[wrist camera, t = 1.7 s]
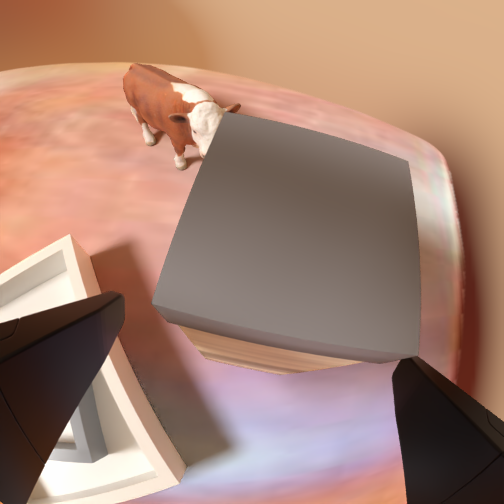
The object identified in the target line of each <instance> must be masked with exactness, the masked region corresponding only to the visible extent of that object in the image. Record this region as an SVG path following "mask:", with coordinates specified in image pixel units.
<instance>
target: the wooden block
mask: <svg viewBox="0 0 504 504" xmlns="http://www.w3.org/2000/svg"><path fill="white" fill-rule="evenodd" d="M151 304H152V305H153V306H154V307H155V308H156V310H157V311H158V312H159V313H160V314H161V315H162V316H163V317H164V319H165V320H166V321H167V322H169V323H173V324H177V325H178V326H179V327H180V328H181V330H182V331H183V332H184V333H185V335H186V336H187V337H188V338H189V340H190V341H191V342H192V343H193V344H194V346H195V347H196V348H197V349H198V351H199V352H200V353H201V354H202V355H203V356H204V358H205V359H208V360H212V361H216V362H221V363H225V364H229V365H234V366H238V367H243V368H248V369H253V370H258V371H263V372H268V373H273V374H279V375H283V374H292V373H300V372H307V371H314V370H321V369H327V368H333V367H339V366H345V365H350V364H356V363H361V362H370V363H379V364H381V363H386V362H391V361H396V360H401V359H405V358H410V357H414V356H418V354H419V340H420V315H421V281H420V256H419V241H418V229H417V219H416V210H415V202H414V194H413V187H412V181H411V175H410V169H409V163H408V161H406V160H403V159H401V158H398V157H395V156H393V155H390V154H387V153H384V152H381V151H379V150H376V149H373V148H370V147H367V146H364V145H361V144H358V143H354V142H351V141H348V140H345V139H341V138H338V137H335V136H331V135H328V134H324V133H320V132H317V131H313V130H309V129H305V128H301V127H297V126H293V125H289V124H285V123H280V122H276V121H271V120H267V119H262V118H257V117H252V116H247V115H241V114H235V113H230V112H224V115H223V117H222V119H221V121H220V123H219V126H218V128H217V130H216V132H215V134H214V137H213V139H212V141H211V144H210V146H209V148H208V150H207V153H206V155H205V157H204V160H203V162H202V165H201V167H200V169H199V172H198V174H197V177H196V179H195V182H194V184H193V187H192V189H191V192H190V194H189V197H188V199H187V202H186V204H185V207H184V210H183V212H182V215H181V218H180V220H179V223H178V226H177V228H176V231H175V234H174V237H173V239H172V242H171V245H170V248H169V251H168V254H167V256H166V259H165V262H164V265H163V268H162V271H161V274H160V277H159V280H158V283H157V287H156V290H155V293H154V296H153V299H152V302H151Z"/></svg>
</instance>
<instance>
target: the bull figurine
mask: <svg viewBox="0 0 504 504" xmlns="http://www.w3.org/2000/svg"><path fill="white" fill-rule="evenodd" d="M123 89H124V92H125V95H126V99H127V101H128V103H129V104H130V106H131V111H132V114H133V115H134V116H135V118H136V119H137V121H138V123H140V124H141V126H142V128H143V137H144V138H145V142H146V145H148V146H152V145H154V144H155V143H156V139H155V137H154V135H153V134H152V132H151V131H150V129H149V127H148V124H149V125H150V126H151V127H153V128H155V129H158V130H161V131H164V132H166V133H167V135H168V136H169V137H170V139H171V142H172V145H173V146H174V148H175V151H176V156H175V158H174V161H175V163H176V168H177V169H178V170H185V169H186V168H187V163H186V159H185V158H184V152H185V145H186V144H188V145H192V146H193V147H196V148H199V152H200V155H201V157H202V158H204V157H205V155H206V153H207V150H208V148H209V146H210V144H211V141H212V139H213V137H214V134H215V132H216V130H217V128H218V126H219V123H220V121H221V119H222V117H223V115H224V112H230V113H235V112H237V111H238V110H239V108H240V107H241V105H240V104H233V105H230V106H228V107H225V108H220V107H219V105H217V103H216V101H215V100H214V99H213V98H212V97H211V96H210V95H209V94H208V93H207V92H206V91H204V90H202V89H201V88H199V87H197V86H195V85H192V84H188V83H187V82H185V81H183V80H181V79H179V78H176V77H174V76H172V75H170V74H168V73H167V72H165V71H163V70H161V69H158V68H156V67H153V66H151V65H142V64H138V63H134V64H132V65H131V66H130V68H129V71H128V72H127V73H126V74H125V76H124V78H123ZM147 123H148V124H147Z"/></svg>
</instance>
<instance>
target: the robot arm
mask: <svg viewBox="0 0 504 504" xmlns="http://www.w3.org/2000/svg"><path fill="white" fill-rule="evenodd" d="M124 319H125V299H124V296H123V294H121V293H118V292H114V291H109V292H106V293H102V294H99V295H95V296H92V297H89V298H85V299H82V300H78V301H75V302H71V303H68V304H64V305H61V306H58V307H54V308H51V309H47V310H44V311H40V312H37V313H34V314H30V315H27V316H23V317H20V319H19V318H16V319H13V320H9V321H6V322H2V323H0V502H2V503H3V504H27V502H28V500H29V498H30V495H31V493H32V491H33V489H34V487H35V485H36V483H37V481H38V479H39V477H40V475H41V473H42V471H43V469H44V467H45V464H46V463H47V461H48V459H49V457H50V455H51V453H52V451H53V449H54V448H55V446H56V444H57V442H58V440H59V438H60V436H61V435H62V433H63V431H64V429H65V428H66V426H67V424H68V422H69V420H70V419H71V417H72V415H73V413H74V412H75V410H76V408H77V407H78V405H79V403H80V401H81V400H82V398H83V396H84V395H85V393H86V391H87V390H88V388H89V386H90V385H91V383H92V381H93V380H94V378H95V377H96V375H97V373H98V372H99V370H100V369H101V367H102V365H103V364H104V362H105V360H106V358H107V356H108V354H109V352H110V350H111V348H112V346H113V344H114V342H115V339H116V337H117V335H118V333H119V331H120V329H121V327H122V325H123V323H124ZM392 384H393V394H394V405H395V416H396V423H397V428H398V434H399V441H400V447H401V454H402V461H403V469H404V477H405V486H406V497H407V504H504V422H503V421H502V420H501V419H499V418H498V417H497V416H495V415H494V414H493V413H492V412H490V411H489V410H488V409H485V407H484V406H482V405H481V404H480V403H479V402H477V401H476V400H475V399H473V398H472V397H471V396H469V395H468V394H467V393H466V392H464V391H463V390H462V389H460V388H459V387H458V386H456V385H455V384H454V383H452V382H451V381H450V380H449V379H447V378H446V377H445V376H443V375H442V374H441V373H439V372H438V371H437V370H435V369H434V368H433V367H431V366H430V365H429V364H427V363H426V362H425V361H423V360H422V359H421V358H419V357H418V356H414V357H410V358H405V359H401V360H400V362H399V364H398V365H397V367H396V369H395V370H394V372H393V375H392Z"/></svg>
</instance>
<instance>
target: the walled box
mask: <svg viewBox="0 0 504 504" xmlns="http://www.w3.org/2000/svg"><path fill="white" fill-rule="evenodd" d="M99 294H102V293H101V290H100V287H99V284H98V281H97V278H96V275H95V272H94V269H93V266H92V263H91V259H90V256H89V255H88V254H87V253H86V252H85V250H84V249H83V248H82V247H81V246H80V245H79V244H78V242H77V241H76V240H75V239H74V238H73V237H72V236H71V234H69V235H67V236H65V237H63V238H61V239H59V240H58V241H56V242H54V243H52V244H50V245H49V246H47V247H45V248H43V249H41V250H40V251H38V252H36V253H35V254H33V255H31V256H29V257H28V258H26V259H24V260H23V261H21V262H19V263H18V264H16V265H14V266H13V267H11V268H10V269H8V270H6V271H5V272H3V273H2V274H0V323H2V322H6V321H9V320H13V319H16V318H19V319H20V317H23V316H27V315H30V314H34V313H37V312H40V311H44V310H47V309H51V308H54V307H58V306H61V305H64V304H68V303H71V302H75V301H78V300H82V299H85V298H89V297H92V296H95V295H99ZM186 468H187V466H186V464H185V463H184V461H183V460H182V458H181V456H180V455H179V453H178V452H177V450H176V449H175V447H174V445H173V444H172V442H171V440H170V439H169V437H168V436H167V434H166V432H165V430H164V429H163V427H162V425H161V424H160V422H159V420H158V418H157V416H156V415H155V413H154V411H153V409H152V407H151V405H150V404H149V402H148V400H147V398H146V396H145V394H144V392H143V390H142V388H141V386H140V384H139V382H138V380H137V378H136V376H135V374H134V372H133V369H132V367H131V365H130V363H129V361H128V359H127V356H126V354H125V352H124V350H123V347H122V345H121V343H120V340H119V338H118V335H117V337H116V339H115V342H114V344H113V346H112V348H111V350H110V352H109V354H108V356H107V358H106V360H105V362H104V364H103V365H102V367H101V369H100V370H99V372H98V373H97V375H96V377H95V378H94V380H93V381H92V383H91V385H90V386H89V388H88V390H87V391H86V393H85V395H84V396H83V398H82V400H81V401H80V403H79V405H78V407H77V408H76V410H75V412H74V413H73V415H72V417H71V419H70V420H69V422H68V424H67V426H66V428H65V429H64V431H63V433H62V435H61V436H60V438H59V440H58V442H57V444H56V446H55V448H54V449H53V451H52V453H51V455H50V457H49V459H48V461H47V463H46V464H45V467H44V469H43V471H42V473H41V475H40V477H39V479H38V481H37V483H36V485H35V487H34V489H33V491H32V493H31V495H30V498H29V500H28V502H27V504H116V503H120V502H124V501H127V500H131V499H135V498H138V497H142V496H145V495H148V494H151V493H155V492H158V491H161V490H164V489H167V488H169V487H172V486H175V485H178V484H180V482H181V479H182V477H183V475H184V473H185V470H186Z"/></svg>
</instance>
